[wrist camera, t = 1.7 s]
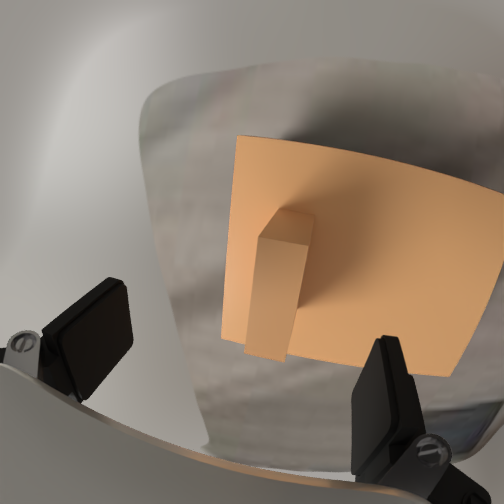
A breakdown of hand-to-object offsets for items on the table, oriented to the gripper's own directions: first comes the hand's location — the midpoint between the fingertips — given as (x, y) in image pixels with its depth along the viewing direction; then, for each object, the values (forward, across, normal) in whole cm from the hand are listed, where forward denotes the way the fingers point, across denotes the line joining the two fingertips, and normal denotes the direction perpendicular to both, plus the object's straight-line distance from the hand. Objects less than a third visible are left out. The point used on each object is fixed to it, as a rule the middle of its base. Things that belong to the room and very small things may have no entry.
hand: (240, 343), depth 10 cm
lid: (+10, -6, 0) cm, 12 cm away
